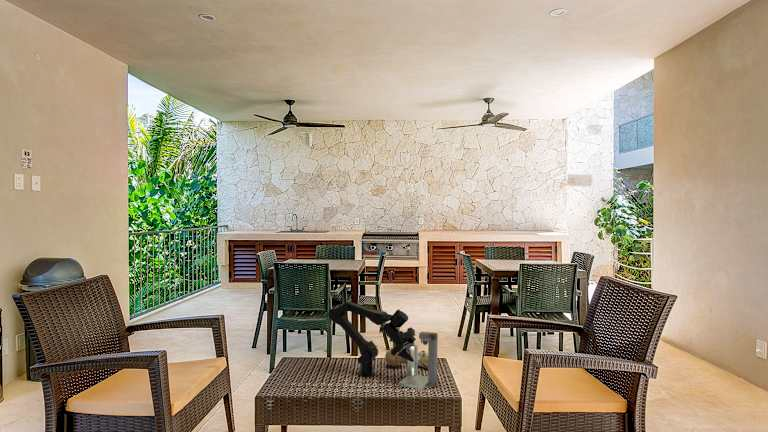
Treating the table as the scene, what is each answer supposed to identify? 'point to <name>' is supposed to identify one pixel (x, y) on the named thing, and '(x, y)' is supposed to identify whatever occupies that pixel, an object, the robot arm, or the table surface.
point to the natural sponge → (392, 358)
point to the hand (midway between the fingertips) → (415, 360)
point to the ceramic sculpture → (423, 359)
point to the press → (431, 379)
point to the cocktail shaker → (413, 366)
